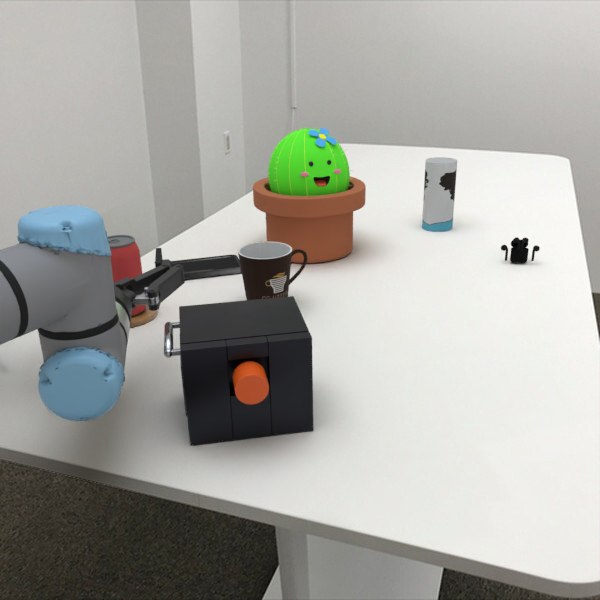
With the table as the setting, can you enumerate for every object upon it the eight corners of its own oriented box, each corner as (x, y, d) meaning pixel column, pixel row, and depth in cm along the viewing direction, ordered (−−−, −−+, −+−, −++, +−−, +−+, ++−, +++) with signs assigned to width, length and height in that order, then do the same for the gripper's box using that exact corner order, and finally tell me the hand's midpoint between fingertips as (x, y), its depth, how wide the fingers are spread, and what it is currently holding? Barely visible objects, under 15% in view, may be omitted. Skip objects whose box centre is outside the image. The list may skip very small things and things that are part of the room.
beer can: (125, 300, 109) (116, 231, 104) (155, 307, 106) (147, 237, 101) (96, 314, 104) (84, 243, 99) (126, 322, 101) (116, 249, 96)
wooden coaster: (84, 314, 106) (83, 310, 105) (139, 298, 112) (139, 294, 111) (111, 334, 99) (110, 330, 98) (169, 316, 105) (168, 311, 104)
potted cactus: (245, 240, 140) (238, 121, 130) (340, 229, 146) (340, 114, 136) (273, 274, 121) (267, 137, 111) (381, 260, 127) (385, 129, 117)
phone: (158, 262, 125) (236, 253, 128) (159, 268, 125) (236, 259, 129) (162, 276, 118) (243, 267, 121) (163, 282, 118) (244, 272, 122)
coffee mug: (243, 320, 102) (239, 260, 98) (239, 299, 110) (236, 243, 106) (316, 314, 104) (315, 255, 100) (307, 294, 112) (306, 238, 108)
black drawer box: (172, 393, 83) (163, 307, 78) (295, 380, 85) (293, 295, 80) (173, 448, 72) (161, 352, 67) (313, 430, 75) (312, 337, 70)
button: (233, 391, 71) (231, 362, 70) (266, 388, 71) (264, 359, 70) (235, 406, 68) (233, 376, 67) (269, 402, 69) (268, 372, 67)
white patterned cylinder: (458, 227, 145) (464, 160, 139) (437, 233, 142) (441, 164, 136) (436, 221, 150) (440, 156, 144) (415, 226, 147) (418, 160, 141)
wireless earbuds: (499, 263, 124) (502, 238, 122) (498, 259, 126) (500, 234, 124) (538, 264, 123) (541, 239, 121) (535, 260, 125) (538, 235, 123)
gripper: (-15, 363, 73) (23, 291, 92) (209, 342, 77) (201, 277, 96) (-29, 302, 70) (13, 241, 89) (204, 283, 74) (197, 229, 93)
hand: (111, 260), depth 93 cm, fingers open, 13 cm apart
